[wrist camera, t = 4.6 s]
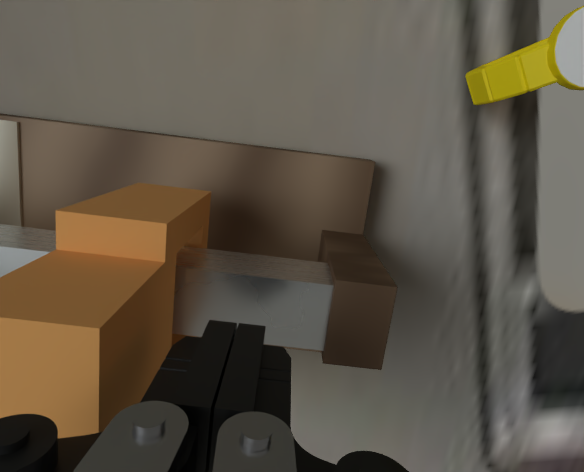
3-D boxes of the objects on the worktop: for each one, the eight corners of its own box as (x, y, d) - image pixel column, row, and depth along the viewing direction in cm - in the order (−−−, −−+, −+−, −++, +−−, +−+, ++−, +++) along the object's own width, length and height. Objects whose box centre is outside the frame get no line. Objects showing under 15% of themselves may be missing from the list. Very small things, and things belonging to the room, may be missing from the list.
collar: (211, 191, 17) (100, 272, 7) (201, 327, 19) (97, 544, 9) (138, 182, 17) (-70, 252, 7) (134, 319, 19) (-44, 530, 9)
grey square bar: (328, 258, 16) (334, 282, 14) (318, 321, 17) (323, 357, 14) (-199, 195, 16) (-297, 208, 13) (-187, 263, 16) (-279, 288, 14)
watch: (460, 120, 21) (513, 122, 15) (444, 65, 20) (491, 44, 14) (587, 70, 20) (695, 50, 14) (573, 10, 19) (681, -37, 13)
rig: (369, 159, 21) (441, 187, 11) (339, 340, 23) (374, 504, 13) (-120, 98, 20) (-539, 66, 10) (-98, 290, 23) (-417, 420, 13)
